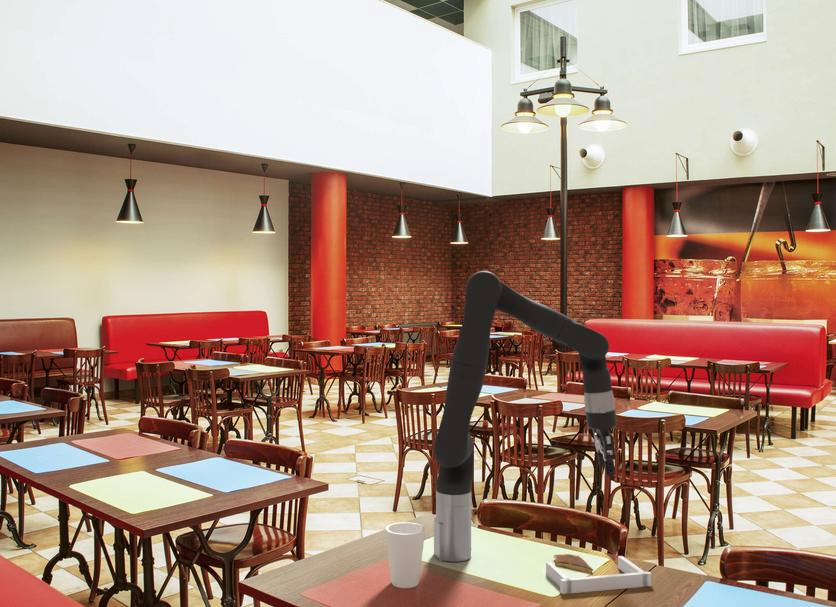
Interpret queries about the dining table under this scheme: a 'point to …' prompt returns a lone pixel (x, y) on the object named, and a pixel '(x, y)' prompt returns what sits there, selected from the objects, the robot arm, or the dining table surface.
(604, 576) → the box
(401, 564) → the foam cup
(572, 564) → the sandwich
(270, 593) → the dining table surface
